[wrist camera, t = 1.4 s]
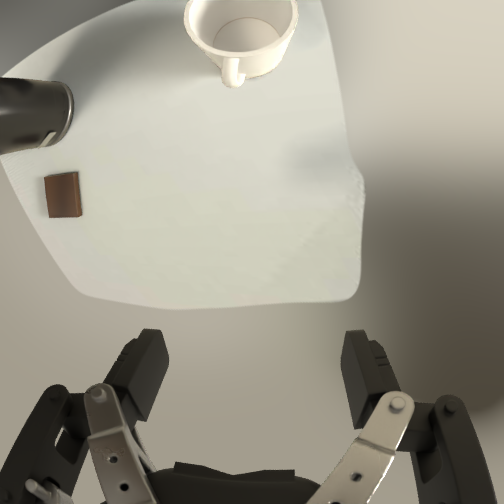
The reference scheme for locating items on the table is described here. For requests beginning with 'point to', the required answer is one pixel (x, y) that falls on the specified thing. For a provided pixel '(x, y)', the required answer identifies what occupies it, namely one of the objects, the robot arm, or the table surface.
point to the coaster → (63, 195)
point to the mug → (241, 34)
